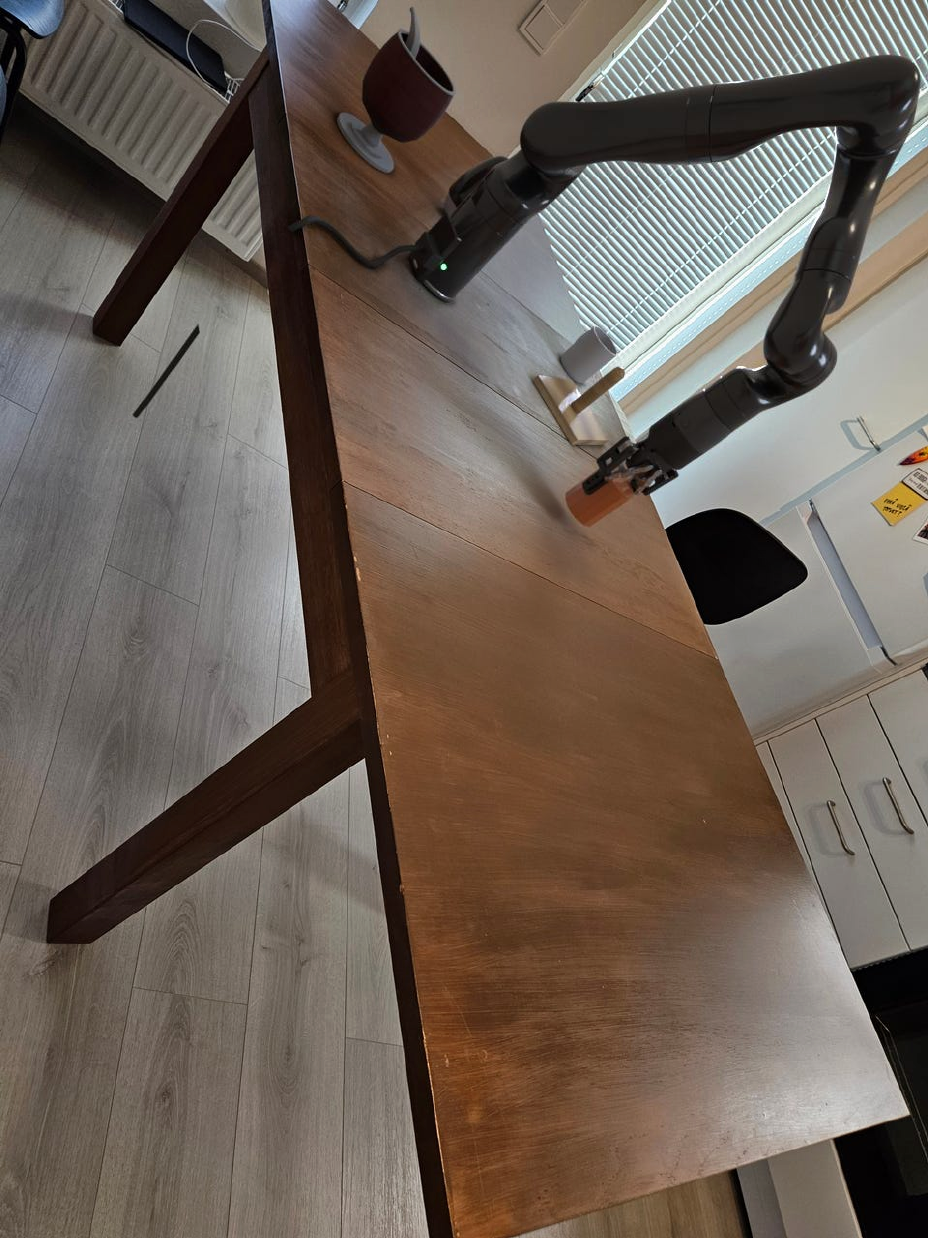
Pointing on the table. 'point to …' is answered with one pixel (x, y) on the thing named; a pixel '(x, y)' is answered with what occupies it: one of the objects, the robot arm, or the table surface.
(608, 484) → the terracotta cup
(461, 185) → the pump dispenser
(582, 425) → the cup stand
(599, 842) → the table surface
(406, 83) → the mate gourd
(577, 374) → the cup
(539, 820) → the table surface
